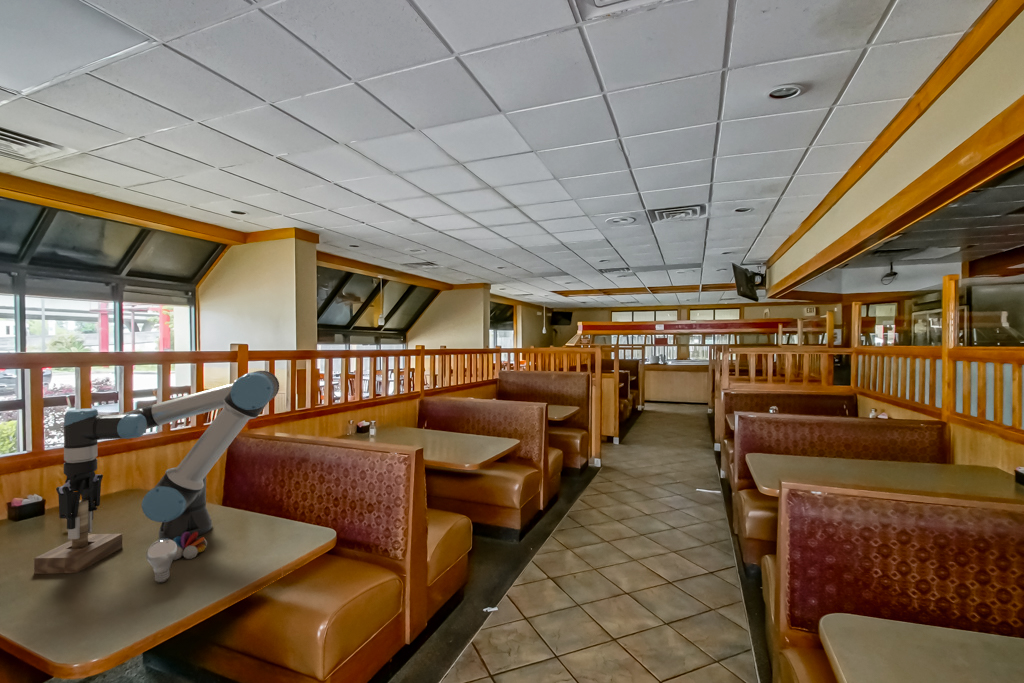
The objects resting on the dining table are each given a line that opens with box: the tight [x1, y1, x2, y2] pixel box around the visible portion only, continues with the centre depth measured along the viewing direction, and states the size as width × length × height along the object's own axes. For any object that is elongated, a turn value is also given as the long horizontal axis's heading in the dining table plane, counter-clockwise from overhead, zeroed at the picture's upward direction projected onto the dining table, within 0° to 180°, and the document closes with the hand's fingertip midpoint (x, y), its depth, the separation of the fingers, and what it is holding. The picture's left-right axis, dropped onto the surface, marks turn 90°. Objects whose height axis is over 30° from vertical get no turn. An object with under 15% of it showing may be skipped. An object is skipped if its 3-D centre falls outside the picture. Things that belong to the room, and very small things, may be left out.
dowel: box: [71, 499, 89, 549], centre depth 139 cm, size 4×4×14 cm
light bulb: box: [145, 538, 178, 584], centre depth 126 cm, size 7×7×12 cm
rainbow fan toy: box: [173, 532, 208, 561], centre depth 142 cm, size 8×10×7 cm
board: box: [33, 533, 123, 575], centre depth 139 cm, size 12×16×4 cm
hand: (80, 535), depth 139 cm, fingers closed on dowel, 4 cm apart
